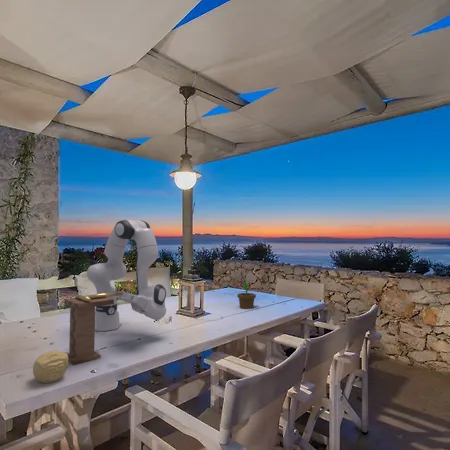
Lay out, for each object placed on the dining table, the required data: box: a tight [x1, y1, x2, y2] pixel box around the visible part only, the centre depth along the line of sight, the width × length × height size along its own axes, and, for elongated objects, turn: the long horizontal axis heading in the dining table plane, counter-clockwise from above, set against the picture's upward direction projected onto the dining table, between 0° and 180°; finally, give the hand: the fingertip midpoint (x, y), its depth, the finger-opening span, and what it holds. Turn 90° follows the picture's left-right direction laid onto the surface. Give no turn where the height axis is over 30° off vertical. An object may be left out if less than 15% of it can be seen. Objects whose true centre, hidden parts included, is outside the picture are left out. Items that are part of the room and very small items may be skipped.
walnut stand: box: [64, 297, 114, 366], centre depth 155 cm, size 16×17×26 cm
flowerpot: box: [236, 269, 257, 310], centre depth 262 cm, size 14×14×30 cm
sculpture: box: [32, 349, 69, 384], centre depth 130 cm, size 11×12×11 cm
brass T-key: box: [74, 290, 126, 302], centre depth 161 cm, size 14×22×2 cm, turn 136°
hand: (118, 292), depth 166 cm, fingers open, 7 cm apart
